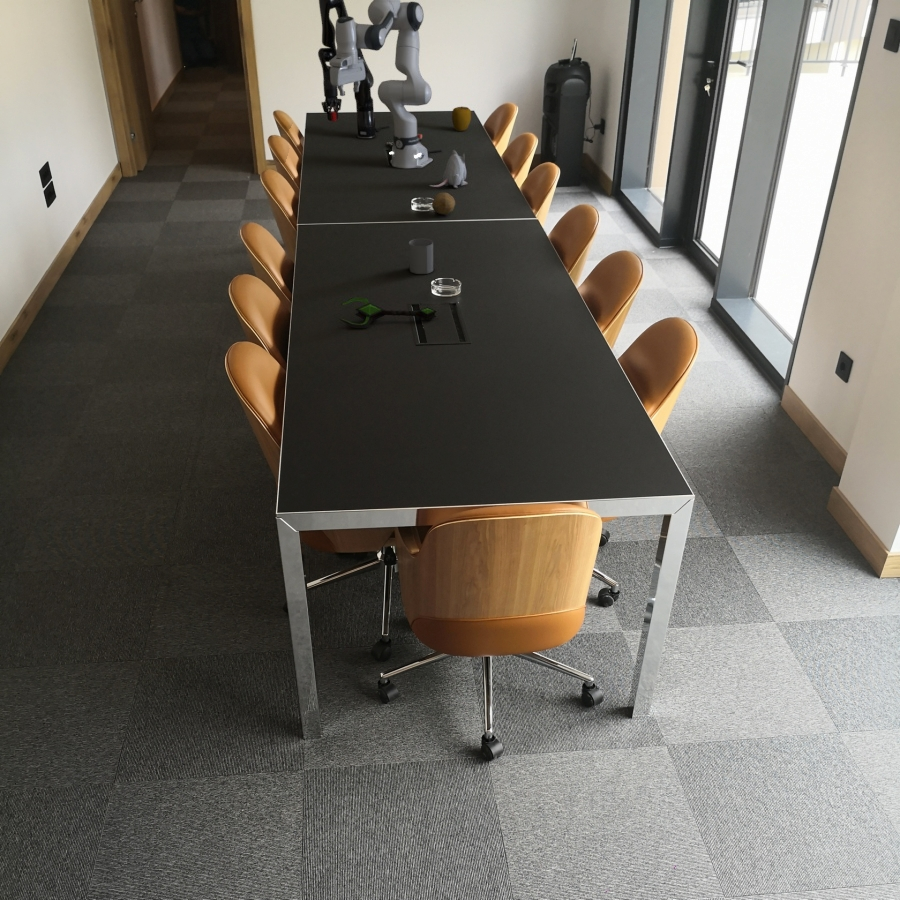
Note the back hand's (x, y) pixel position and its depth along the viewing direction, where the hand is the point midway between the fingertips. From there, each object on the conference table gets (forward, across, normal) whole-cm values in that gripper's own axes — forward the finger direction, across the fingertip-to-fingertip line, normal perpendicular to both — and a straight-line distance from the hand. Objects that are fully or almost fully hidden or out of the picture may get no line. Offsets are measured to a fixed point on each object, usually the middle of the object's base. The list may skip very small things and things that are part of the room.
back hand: (332, 119), depth 488 cm
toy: (+7, +48, +124) cm, 133 cm away
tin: (0, 0, 0) cm, 0 cm away
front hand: (-33, +71, +88) cm, 118 cm away
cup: (+7, +132, +182) cm, 225 cm away
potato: (+7, +78, +146) cm, 166 cm away
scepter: (+7, +172, +202) cm, 265 cm away
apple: (+7, -45, +56) cm, 73 cm away
